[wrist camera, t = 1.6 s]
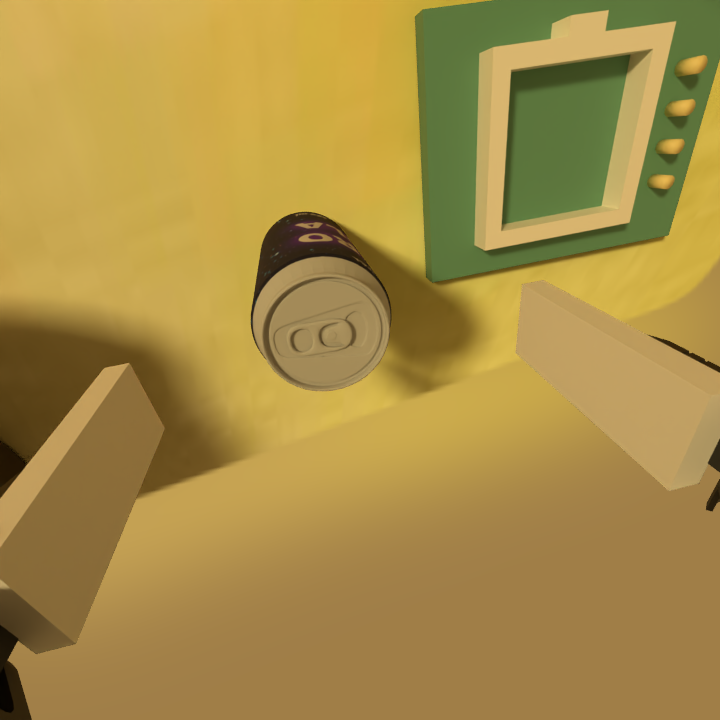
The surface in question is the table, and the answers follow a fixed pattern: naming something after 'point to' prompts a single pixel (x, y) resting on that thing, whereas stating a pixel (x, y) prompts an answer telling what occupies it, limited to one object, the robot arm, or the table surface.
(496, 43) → the header board
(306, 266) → the beverage can
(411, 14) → the table surface
